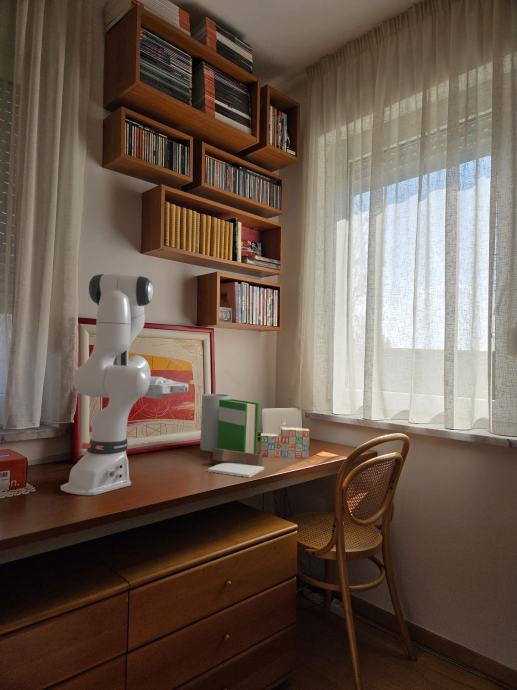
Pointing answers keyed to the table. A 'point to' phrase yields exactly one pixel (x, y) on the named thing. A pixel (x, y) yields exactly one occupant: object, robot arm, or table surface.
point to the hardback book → (238, 425)
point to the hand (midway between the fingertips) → (186, 389)
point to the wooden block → (237, 457)
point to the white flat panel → (236, 469)
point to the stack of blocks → (286, 443)
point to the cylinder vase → (210, 421)
